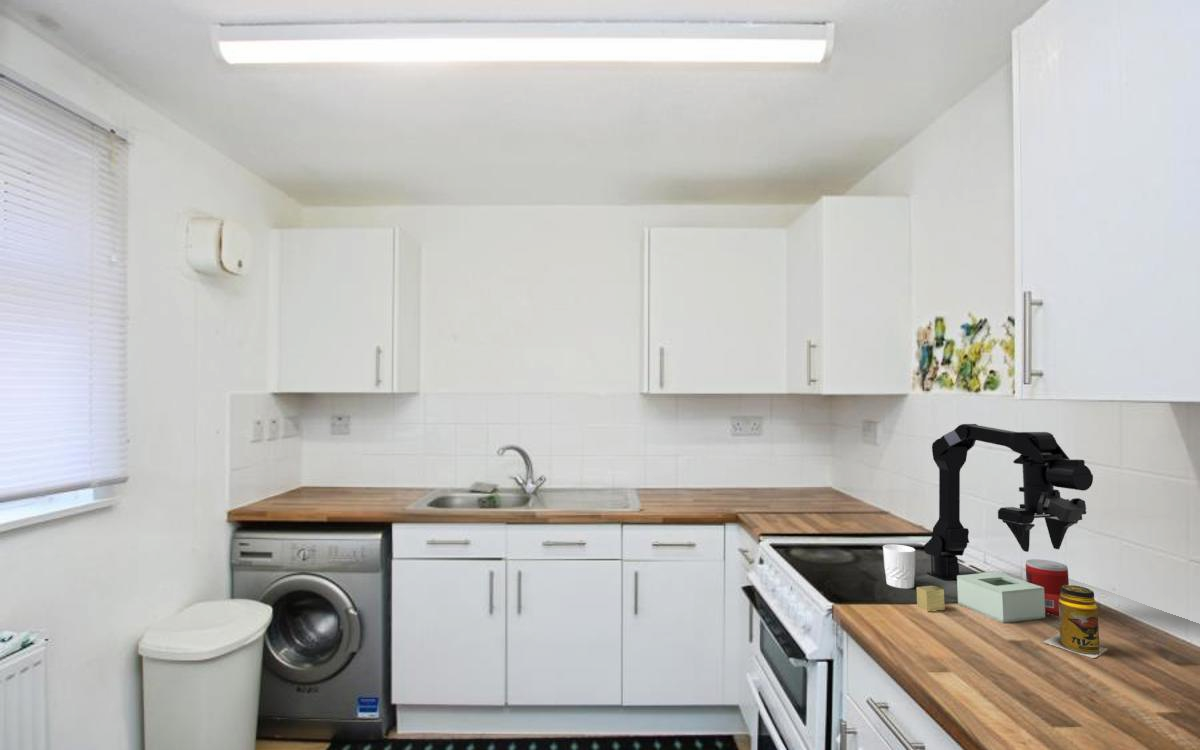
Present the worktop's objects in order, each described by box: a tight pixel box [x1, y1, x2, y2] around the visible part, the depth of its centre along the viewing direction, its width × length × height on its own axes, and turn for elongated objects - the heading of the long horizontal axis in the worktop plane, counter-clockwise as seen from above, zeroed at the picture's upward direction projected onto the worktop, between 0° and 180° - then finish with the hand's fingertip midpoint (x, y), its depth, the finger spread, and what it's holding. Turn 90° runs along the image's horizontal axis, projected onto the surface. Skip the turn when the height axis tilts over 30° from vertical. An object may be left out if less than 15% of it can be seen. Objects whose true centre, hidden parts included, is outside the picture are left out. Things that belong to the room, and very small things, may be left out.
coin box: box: [956, 571, 1046, 624], centre depth 132 cm, size 12×12×7 cm
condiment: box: [1042, 584, 1109, 659], centre depth 113 cm, size 7×8×12 cm
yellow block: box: [916, 585, 945, 611], centre depth 133 cm, size 3×5×5 cm, turn 103°
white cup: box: [882, 543, 916, 590], centre depth 151 cm, size 8×8×10 cm
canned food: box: [1025, 558, 1070, 616], centre depth 133 cm, size 8×8×11 cm
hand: (1041, 550), depth 131 cm, fingers open, 9 cm apart
